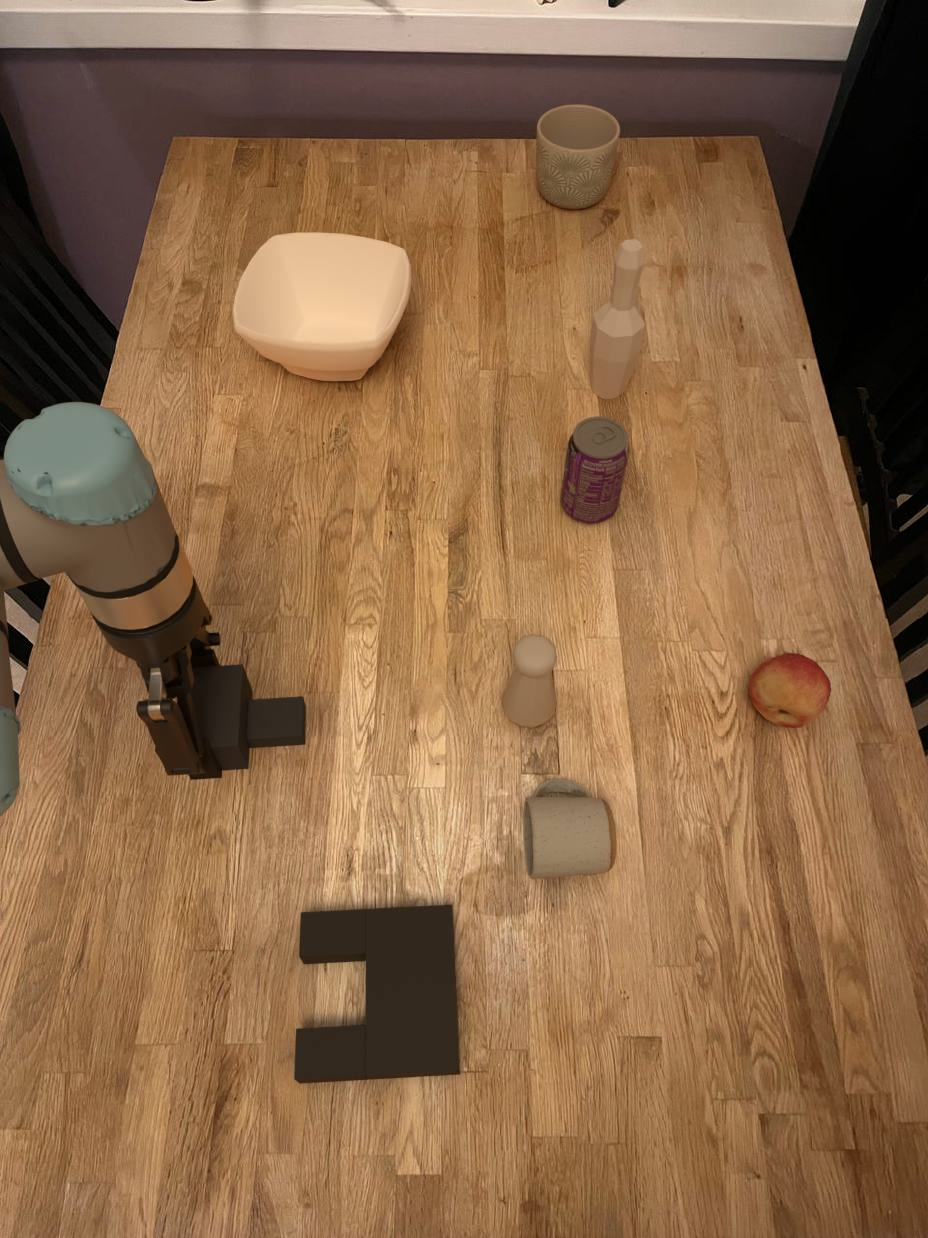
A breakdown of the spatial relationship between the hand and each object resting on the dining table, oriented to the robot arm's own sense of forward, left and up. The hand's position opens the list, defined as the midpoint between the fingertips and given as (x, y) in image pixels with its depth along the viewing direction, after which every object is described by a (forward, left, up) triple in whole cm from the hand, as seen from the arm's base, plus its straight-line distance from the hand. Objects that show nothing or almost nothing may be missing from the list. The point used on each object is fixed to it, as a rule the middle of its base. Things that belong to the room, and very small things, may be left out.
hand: (210, 730), depth 87 cm
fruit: (+57, +6, -13) cm, 59 cm away
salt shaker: (+30, +7, -13) cm, 34 cm away
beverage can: (+40, +35, -13) cm, 55 cm away
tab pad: (+3, 0, 0) cm, 3 cm away
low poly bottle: (+45, +55, -13) cm, 72 cm away
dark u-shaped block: (+14, -21, -13) cm, 29 cm away
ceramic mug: (+32, -7, -13) cm, 36 cm away
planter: (+45, +98, -13) cm, 109 cm away
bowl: (+8, +63, -13) cm, 65 cm away
